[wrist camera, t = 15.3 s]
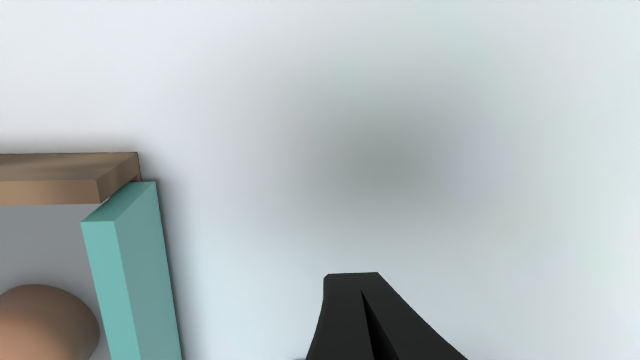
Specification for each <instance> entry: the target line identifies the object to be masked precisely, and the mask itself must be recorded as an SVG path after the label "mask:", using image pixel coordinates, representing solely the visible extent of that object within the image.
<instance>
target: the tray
mask: <svg viewBox="0 0 640 360" xmlns="http://www.w3.org/2000/svg"><path fill="white" fill-rule="evenodd" d="M30 284H40V285H48V286H52V287H56V288H59V289H62V290H65V291H67V292H69V293H71V294H73V295H74V296H76V297H78V298H79V299H80V300H81V301H83V302H84V303H85V304H86V305H87V306H88V307H89V308H90V309H91V311H92V312H93V314H94V315H95V317H96V319H97V321H98V324H99V328H100V339H99V343H98V346H97V348H96V350H95V351H94V353H93V354H92V356H91V357H90V359H89V360H182V357H181V350H180V343H179V337H178V330H177V324H176V317H175V310H174V304H173V297H172V290H171V284H170V277H169V270H168V264H167V257H166V250H165V244H164V237H163V230H162V224H161V217H160V210H159V204H158V197H157V190H156V184H155V182H127V183H126V184H125V185H123V186H122V187H121V188H120V189H118V190H117V191H116V192H115V193H113V194H112V195H111V196H110V197H108V198H107V199H106V200H105V201H103V202H102V203H101V204H64V205H18V206H0V295H1V294H2V293H4V292H6V291H7V290H9V289H12V288H14V287H18V286H22V285H30Z"/></svg>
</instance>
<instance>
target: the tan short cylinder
mask: <svg viewBox="0 0 640 360" xmlns="http://www.w3.org/2000/svg"><path fill="white" fill-rule="evenodd" d="M99 339H100V328H99V324H98V321H97V319H96V317H95V315H94V314H93V312H92V311H91V309H90V308H89V307H88V306H87V305H86V304H85V303H84V302H83V301H81V300H80V299H79V298H78V297H76V296H74V295H73V294H71V293H69V292H67V291H65V290H62V289H59V288H56V287H52V286H48V285H40V284H30V285H22V286H18V287H14V288H12V289H9V290H7V291H6V292H4V293H2V294H1V295H0V360H89V359H90V357H91V356H92V354H93V353H94V351H95V350H96V348H97V346H98V343H99Z"/></svg>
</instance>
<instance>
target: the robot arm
mask: <svg viewBox="0 0 640 360" xmlns="http://www.w3.org/2000/svg"><path fill="white" fill-rule="evenodd" d="M305 360H468V359H467V358H465V357H464V356H463V355H462V354H461V353H460V352H458V351H457V350H456V349H455V348H454V347H453V346H451V345H450V344H449V343H448V342H447V341H446V340H444V339H443V338H442V337H441V336H440V335H439V334H438V333H437V332H436V331H435V330H434V329H433V328H432V327H431V326H430V325H428V324H427V323H426V322H425V321H424V320H423V319H422V318H421V317H420V316H419V315H418V314H417V313H416V312H415V311H414V310H413V309H412V308H411V307H410V306H409V305H408V304H407V303H406V302H405V301H404V300H403V299H402V298H401V297H400V295H399V294H398V293H397V292H396V291H395V290H394V289H393V288H392V287H391V286H390V285H389V284H388V283H387V282H386V281H385V280H384V278H383V277H382V276H381V275H380V274H379V273H378V272H368V273H340V274H328V275H326V276H325V277H324V283H323V303H322V308H321V312H320V316H319V320H318V323H317V327H316V331H315V334H314V337H313V340H312V343H311V345H310V348H309V351H308V354H307V357H306V359H305Z"/></svg>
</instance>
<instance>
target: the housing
mask: <svg viewBox="0 0 640 360" xmlns="http://www.w3.org/2000/svg"><path fill="white" fill-rule="evenodd" d="M127 182H142V180H141V174H140V168H139V162H138V156H137V152H133V153H54V154H0V206H18V205H64V204H101V203H102V202H103V201H105V200H106V199H107V198H108V197H110V196H111V195H112V194H113V193H115V192H116V191H117V190H118V189H120V188H121V187H122V186H123V185H125V184H126V183H127Z"/></svg>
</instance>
